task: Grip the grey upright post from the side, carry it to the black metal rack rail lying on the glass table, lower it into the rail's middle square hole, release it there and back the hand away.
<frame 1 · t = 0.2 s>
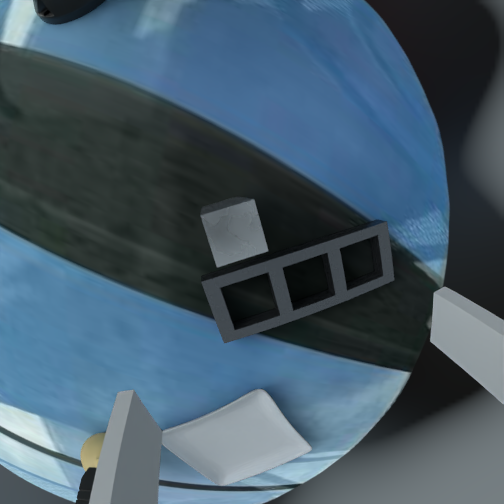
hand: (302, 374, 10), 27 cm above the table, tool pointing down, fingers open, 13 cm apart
yellow round lump: (116, 443, 41), on the table
grey upright post: (225, 219, 36), on the table
rack rail: (304, 276, 39), on the table
salad plate: (235, 435, 45), on the table
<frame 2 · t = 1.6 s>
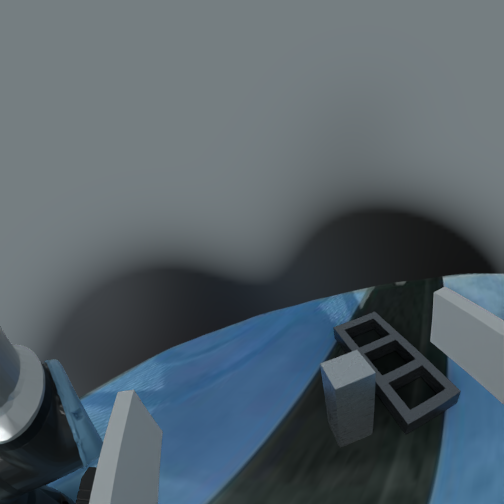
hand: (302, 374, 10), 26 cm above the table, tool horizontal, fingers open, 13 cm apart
grey upright post: (349, 429, 31), on the table
rack rail: (389, 367, 40), on the table
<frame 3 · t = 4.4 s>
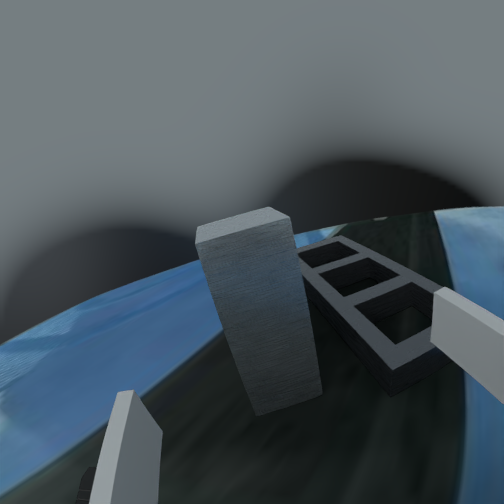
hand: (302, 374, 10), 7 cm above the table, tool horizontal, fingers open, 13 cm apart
grey upright post: (281, 384, 19), on the table
rack rail: (360, 296, 28), on the table
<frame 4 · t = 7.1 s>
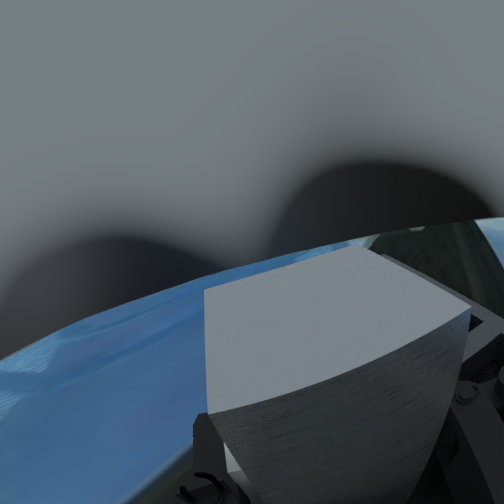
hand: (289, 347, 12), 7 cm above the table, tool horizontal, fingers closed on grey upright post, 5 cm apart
grey upright post: (338, 502, 9), on the table, touching gripper
rack rail: (426, 347, 18), on the table
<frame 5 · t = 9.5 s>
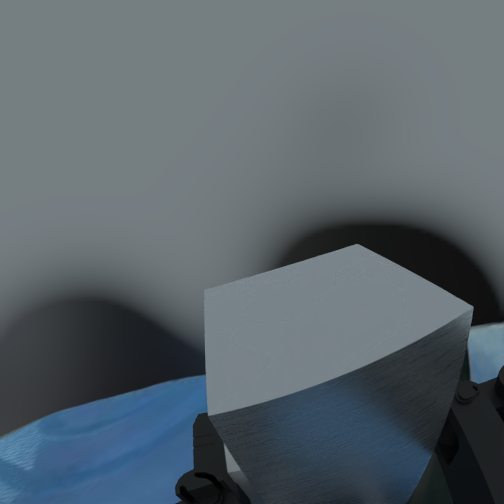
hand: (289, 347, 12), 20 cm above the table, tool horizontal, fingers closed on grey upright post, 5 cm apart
grey upright post: (338, 502, 9), point 13 cm above the table, touching gripper
when the fingers open (8 cm above the table, at t = 12.3 s): grey upright post stays where it is, resting in rack rail.
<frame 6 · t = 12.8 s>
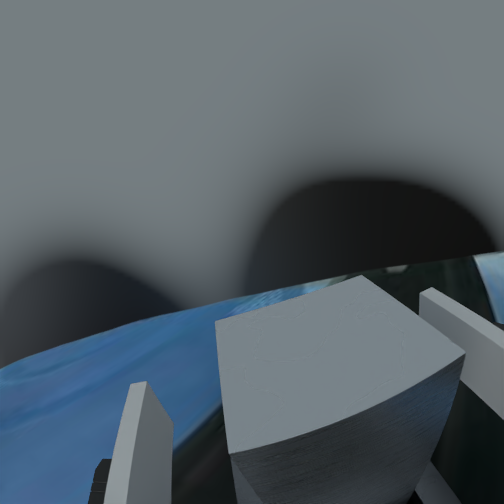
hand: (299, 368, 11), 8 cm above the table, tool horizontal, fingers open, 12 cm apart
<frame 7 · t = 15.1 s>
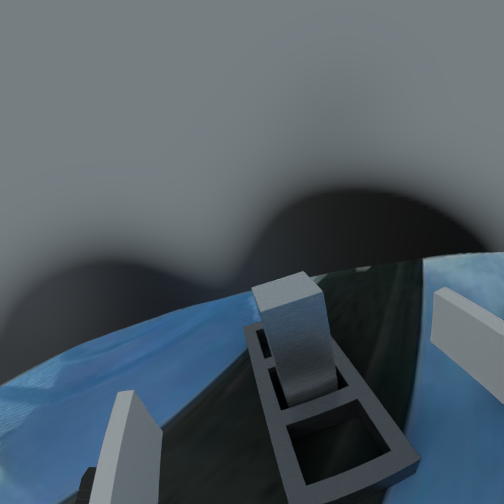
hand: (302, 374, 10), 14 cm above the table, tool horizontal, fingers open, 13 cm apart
grey upright post: (309, 395, 25), resting in rack rail
rack rail: (309, 394, 25), on the table
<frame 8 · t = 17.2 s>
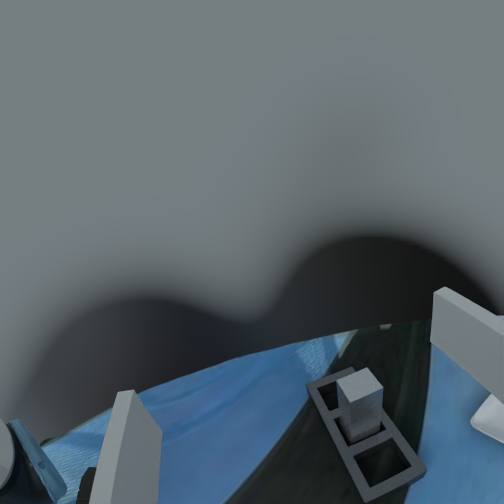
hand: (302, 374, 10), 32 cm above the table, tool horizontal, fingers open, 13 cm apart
grey upright post: (359, 433, 35), resting in rack rail
rack rail: (359, 433, 35), on the table
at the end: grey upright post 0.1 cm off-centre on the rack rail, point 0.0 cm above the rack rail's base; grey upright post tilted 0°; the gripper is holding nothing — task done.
